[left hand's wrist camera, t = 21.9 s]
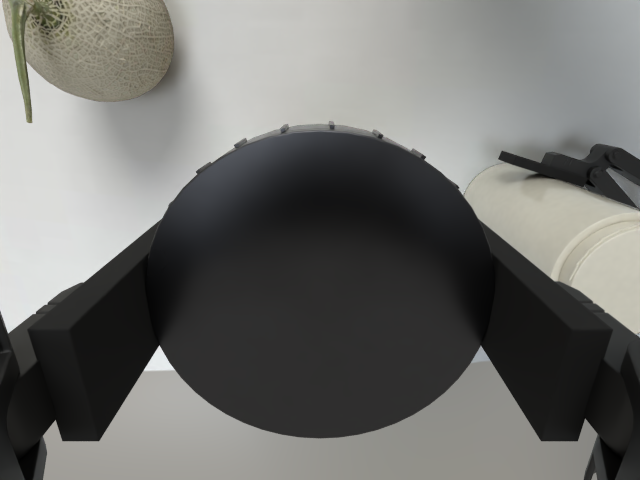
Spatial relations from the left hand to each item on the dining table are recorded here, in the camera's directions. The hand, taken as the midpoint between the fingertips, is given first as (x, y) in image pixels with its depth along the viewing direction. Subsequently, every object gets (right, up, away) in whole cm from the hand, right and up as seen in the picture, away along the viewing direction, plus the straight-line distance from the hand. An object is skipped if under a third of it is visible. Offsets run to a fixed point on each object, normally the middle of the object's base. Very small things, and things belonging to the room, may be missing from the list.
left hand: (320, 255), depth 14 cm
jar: (+19, +4, +27) cm, 33 cm away
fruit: (-17, +19, +21) cm, 33 cm away
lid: (0, -1, -3) cm, 3 cm away
